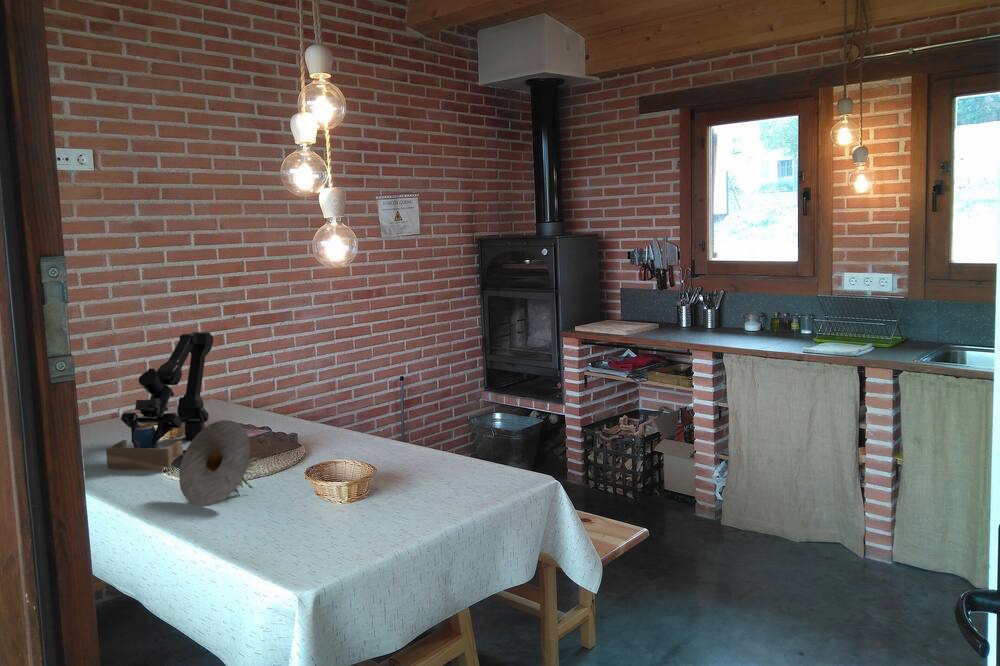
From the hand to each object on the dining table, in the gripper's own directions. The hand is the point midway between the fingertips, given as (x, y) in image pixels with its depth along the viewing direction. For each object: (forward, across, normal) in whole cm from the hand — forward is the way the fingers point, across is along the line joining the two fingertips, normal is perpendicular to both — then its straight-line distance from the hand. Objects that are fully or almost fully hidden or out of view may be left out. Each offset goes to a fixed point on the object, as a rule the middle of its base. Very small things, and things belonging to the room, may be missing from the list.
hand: (143, 443), depth 258 cm
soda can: (+4, 0, +6) cm, 7 cm away
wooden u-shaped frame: (+5, 0, +6) cm, 8 cm away
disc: (+22, +39, -11) cm, 46 cm away
